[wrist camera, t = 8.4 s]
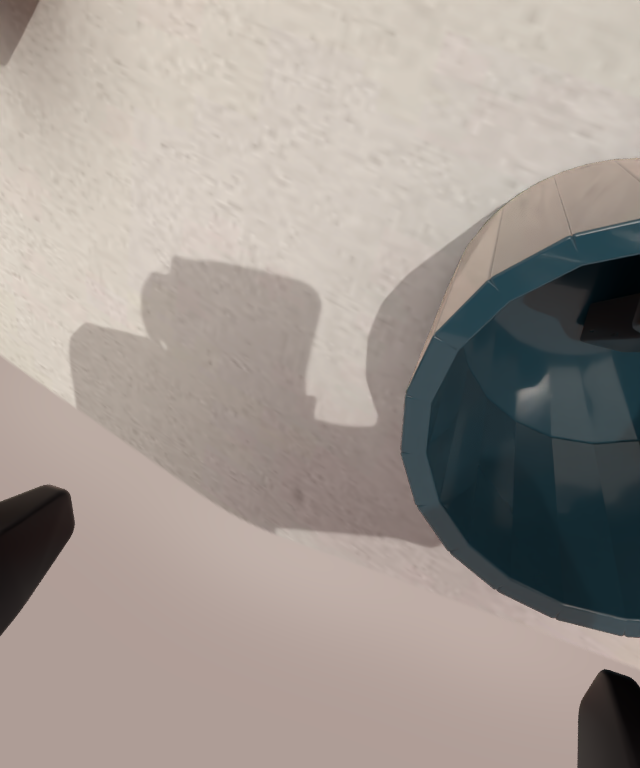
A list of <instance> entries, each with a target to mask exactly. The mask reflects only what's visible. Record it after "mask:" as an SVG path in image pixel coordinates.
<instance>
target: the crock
mask: <svg viewBox="0 0 640 768" xmlns="http://www.w3.org/2000/svg"><path fill="white" fill-rule="evenodd" d="M636 293H640V158H630V159H614V160H607V161H601V162H596V163H591V164H586V165H583V166H579V167H576V168H573V169H570V170H566V171H563V172H561V173H558V174H556V175H554V176H552V177H549V178H547V179H545V180H543V181H540V182H539V183H537V184H535V185H534V186H532V187H530V188H529V189H527V190H525V191H523V192H522V193H520V194H519V195H517V196H516V197H515V198H513V199H512V200H511V201H509V202H508V203H507V204H506V205H504V206H503V207H502V208H501V209H500V210H498V211H497V212H496V213H495V214H494V215H493V216H492V217H491V218H490V219H489V220H488V221H487V222H486V223H485V224H484V226H483V227H482V228H481V229H480V231H479V232H478V233H477V234H476V236H475V237H474V238H473V239H472V241H471V242H470V243H469V244H468V246H467V247H466V249H465V251H464V253H463V255H462V257H461V260H460V262H459V264H458V266H457V268H456V270H455V273H454V275H453V277H452V279H451V281H450V283H449V285H448V287H447V290H446V292H445V295H444V297H443V300H442V302H441V305H440V307H439V310H438V312H437V315H436V317H435V320H434V322H433V325H432V327H431V330H430V332H429V335H428V337H427V340H426V342H425V345H424V347H423V350H422V352H421V355H420V357H419V360H418V362H417V365H416V367H415V370H414V372H413V375H412V377H411V380H410V382H409V385H408V387H407V390H406V394H405V399H404V411H403V424H402V436H401V457H402V460H403V463H404V467H405V470H406V474H407V477H408V481H409V484H410V487H411V491H412V494H413V498H414V501H415V504H416V505H417V507H418V509H419V511H420V512H421V513H422V515H423V516H424V518H425V519H426V521H427V522H428V523H429V525H430V526H431V528H432V529H433V531H434V532H435V533H436V535H437V536H438V538H439V539H440V541H441V542H442V544H443V545H444V546H445V548H446V549H447V551H450V553H451V555H453V556H454V557H455V558H456V559H457V560H459V561H460V562H461V563H462V564H464V565H465V566H466V567H467V568H468V569H470V570H471V571H472V572H473V573H475V574H476V575H477V576H478V577H479V578H481V579H482V580H483V581H484V582H486V583H487V584H488V585H489V586H490V587H492V588H493V589H496V590H497V591H498V592H499V593H501V594H503V595H505V596H508V597H510V598H512V599H514V600H516V601H518V602H520V603H522V604H524V605H526V606H528V607H530V608H532V609H534V610H536V611H538V612H540V613H542V614H545V615H547V616H549V617H551V618H556V619H557V620H559V621H563V622H567V623H571V624H575V625H579V626H583V627H587V628H591V629H595V630H599V631H603V632H606V633H610V634H614V635H618V636H623V635H625V636H626V637H634V638H640V352H620V351H616V350H612V349H608V348H604V347H600V346H596V345H592V344H588V343H584V342H582V341H580V336H581V333H582V330H583V326H584V323H585V320H586V316H587V313H588V310H589V306H590V305H591V303H596V302H600V301H605V300H609V299H614V298H618V297H623V296H627V295H632V294H636Z"/></svg>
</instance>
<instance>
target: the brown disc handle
mask: <svg viewBox="0 0 640 768" xmlns="http://www.w3.org/2000/svg"><path fill="white" fill-rule="evenodd" d="M580 341H582V342H584V343H588V344H592V345H596V346H600V347H604V348H608V349H612V350H616V351H620V352H640V293H636V294H632V295H627V296H623V297H618V298H614V299H609V300H605V301H600V302H596V303H591V305H590V306H589V310H588V313H587V316H586V320H585V323H584V326H583V330H582V333H581V336H580Z"/></svg>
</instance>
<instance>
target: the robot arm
mask: <svg viewBox="0 0 640 768" xmlns="http://www.w3.org/2000/svg"><path fill="white" fill-rule="evenodd" d="M74 525H75V521H74V515H73V508H72V502H71V496H70V494H69V492H68V491H67V490H65V489H62V488H59V487H56V486H53V485H43V486H40V487H37V488H35V489H32V490H29V491H27V492H24V493H22V494H19V495H17V496H14V497H11V498H9V499H6V500H3V501H1V502H0V636H1V635H2V633H3V632H4V631H5V630H6V628H7V627H8V626H9V625H10V624H11V622H12V621H13V620H14V618H15V617H16V616H17V615H18V613H19V612H20V611H21V609H22V608H23V606H24V605H25V604H26V602H27V601H28V599H29V598H30V597H31V595H32V594H33V592H34V591H35V589H36V588H37V586H38V585H39V583H40V582H41V580H42V579H43V577H44V576H45V574H46V573H47V571H48V570H49V568H50V567H51V565H52V564H53V562H54V561H55V560H56V558H57V557H58V555H59V553H60V552H61V551H62V549H63V548H64V546H65V545H66V543H67V542H68V540H69V539H70V537H71V535H72V533H73V530H74ZM577 767H578V768H640V687H639V685H638V684H637V683H636V682H635V681H634V680H633V679H632V678H630V677H628V676H625V675H622V674H619V673H616V672H613V671H610V670H605V669H604V670H602V671H600V672H599V673H598V675H597V676H596V678H595V680H594V681H593V683H592V684H591V686H590V687H589V689H588V691H587V692H586V694H585V695H584V697H583V699H582V701H581V704H580V708H579V715H578V766H577Z"/></svg>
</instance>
